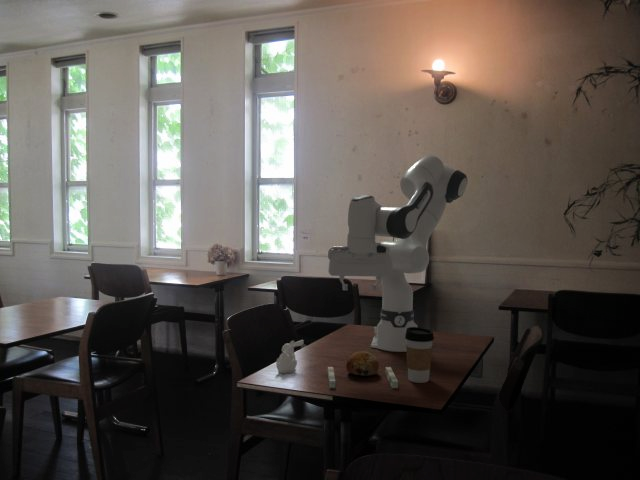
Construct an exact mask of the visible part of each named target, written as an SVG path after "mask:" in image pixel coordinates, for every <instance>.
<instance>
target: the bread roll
mask: <svg viewBox="0 0 640 480" xmlns="http://www.w3.org/2000/svg"><path fill="white" fill-rule="evenodd" d="M345 365H346V367H345V368H346V371H347V373H349V374H351V375H356V376H364V377H365V376H374V375H376V374H377V373H378V371H379V367H380V364H379V360H378V358H377V357H376V356H375V355H374V354H372V353H370V352H368V351H362V350H361V351H356V352H354V353H352V355H350V356H349V357H348V358H347V360H346V364H345Z"/></svg>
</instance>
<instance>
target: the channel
mask: <svg viewBox="0 0 640 480" xmlns="http://www.w3.org/2000/svg"><path fill="white" fill-rule="evenodd" d="M385 376H386V378H387V380H388V383H389V384H390V387H391V389H399V380H398V378H397V377H396V375H395V373H394V371H393V369H392V367H391V366H385ZM327 378H328V386H329V389H335V388H336V377H335V370H334V367H333V366H327Z"/></svg>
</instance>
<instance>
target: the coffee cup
mask: <svg viewBox="0 0 640 480" xmlns="http://www.w3.org/2000/svg"><path fill="white" fill-rule="evenodd" d="M405 339H406V341H407V345H406V365H407V376H408V377H407V379H408V381H410V382H412V383H416V384H417V383H419V384H421V383H422V384H423V383H424V384H425V383H427V382H429V379H430V372H431V371H430V370H431V364H432V356H433V348H434V347H433V341H434V340H435V336H434V331H432V330H431V329H427V328H423V327H418V326H417V327H409V328H407V330H406V335H405Z"/></svg>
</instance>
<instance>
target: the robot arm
mask: <svg viewBox="0 0 640 480" xmlns="http://www.w3.org/2000/svg"><path fill="white" fill-rule="evenodd" d="M399 182H400V183H399V186H400V190H401V191H402V192H401V193H402V194H403V195H404V196H405V197H406V198H407V199H408V200H409V201H408V202H407V204H405V205H402V206H383V205H381V204H379V203H378V202H377V201H376V199H375V197H374V196H373V195H369V194H368V195H367V194H366V195H358V196H354V197H352V198H351V200H350V202H349V205H348V210H347V211H348V212H347V213H348V214H347V226H348V234H347V238H346V239H347V240H346V241H347V242H346V246H332V247H331V248H330V249H328V251H327V257H328V259H329V262H328V263H329V264H328V274H329V275H330V276H332V277H338V278H339V281H340V283H341V285H342V291H348V290H349V289H348V288H349V287H348V286H349V285H348V283H346V284H345V282H344V280H345V277H375V280H376V281H375V283H374V284H372V285H371V291H375V292H378V286H379V285H380V283H381V295H382V296H381V297H382V300H381V301H382V302H381V303H382V304H381V305H382V307H381V309H380V320H379V322H378V324H377V325H376V326H373V329H374V331H373V333H374V334H375V335H373V338H372V341H371V344H370V347H371V348H373V349H379V350H382V351H386V352H394V353H395V352H398V353H399V352H401V353H402V352H405V353H407V351H406V345H407V341H406V339H405V335H406V330H407V328H409V327H418V325H417V324H416V323H415V321H414V319H415V318H414V317H415V311H414V309H413V300H414V290H413V288H412V285H411V284H410V283H409V282H408V281H407V278H406V276H405V274H410V275H412V274H417V273H418V274H419V273H422V272H424V271H425V270H426V269H427V268H428V266H429V264H430V254H429V251H428V249H427V245H428V241H429V239H430V237H431V235H432V234H433V232H434V231H435V229H436V227H437V226H438V224H439V223H440V221H441V218H442V216H443V214H444V212H445V209H446V206H447V204H451V203H452V202H453V201H455V200H458V199H460V198H461V197H462V196H463V195H464V193H465V191H466V189H467V186H468V176H467V174H465V173H464V172H462V171H460V170H459V169H455V168H452V167H450V166H448V165H445V164H444V162H443V161H442V159H441V158H439V157H438V156H436V155H432V154H431V155H425V156H423V157H422V158H420V159H418V160H417V161H415V162H414V163H413V164H412V165H411V166H410V167H409V168H408V169H407V170H406V171H405V172H404V173H403V175H402V176H401V178H400V181H399ZM376 237H385V238H386V237H387V238H395V239H396V238H397V239H401V240H400V241H394V240H384V241H378V242H377V241H376Z"/></svg>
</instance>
